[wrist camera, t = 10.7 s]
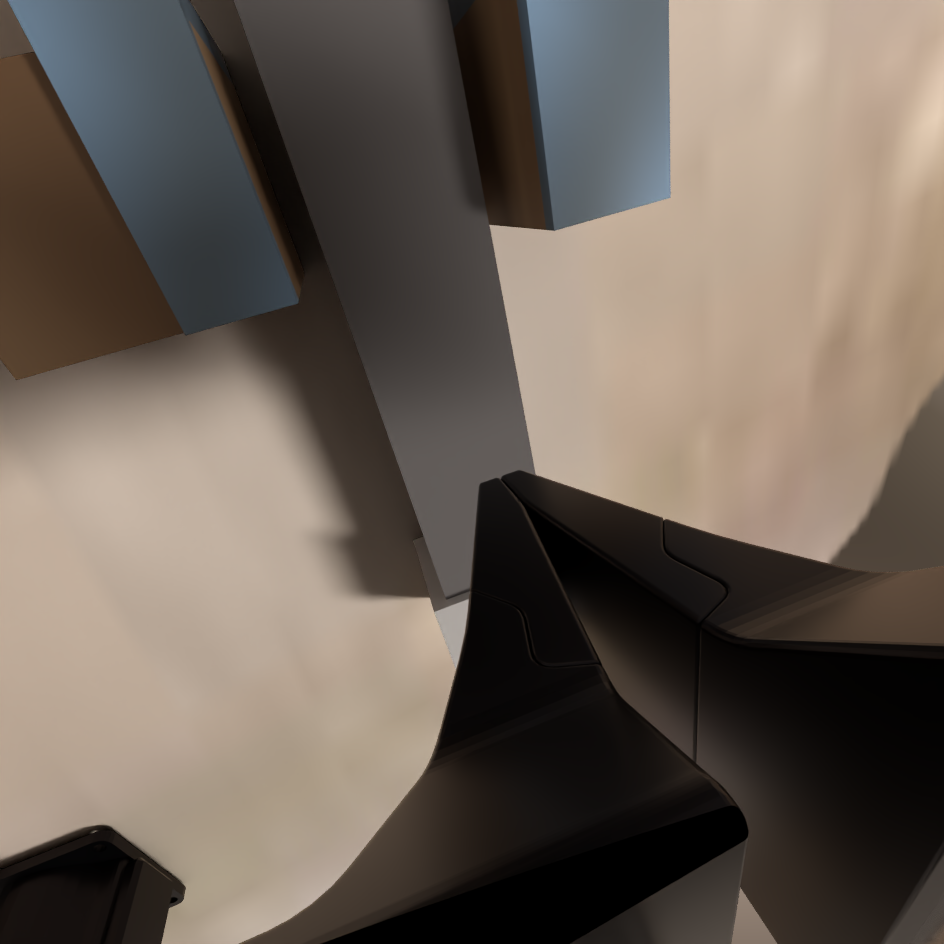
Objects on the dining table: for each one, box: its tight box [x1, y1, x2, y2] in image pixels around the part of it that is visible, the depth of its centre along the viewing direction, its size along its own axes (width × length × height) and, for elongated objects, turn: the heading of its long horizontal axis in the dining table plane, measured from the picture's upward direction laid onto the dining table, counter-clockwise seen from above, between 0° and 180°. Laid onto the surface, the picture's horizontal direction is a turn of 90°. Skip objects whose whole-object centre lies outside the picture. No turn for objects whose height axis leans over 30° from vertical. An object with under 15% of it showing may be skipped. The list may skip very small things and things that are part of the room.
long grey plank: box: [234, 0, 535, 668], centre depth 13 cm, size 20×4×4 cm, turn 14°
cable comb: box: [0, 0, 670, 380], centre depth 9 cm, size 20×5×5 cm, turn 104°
